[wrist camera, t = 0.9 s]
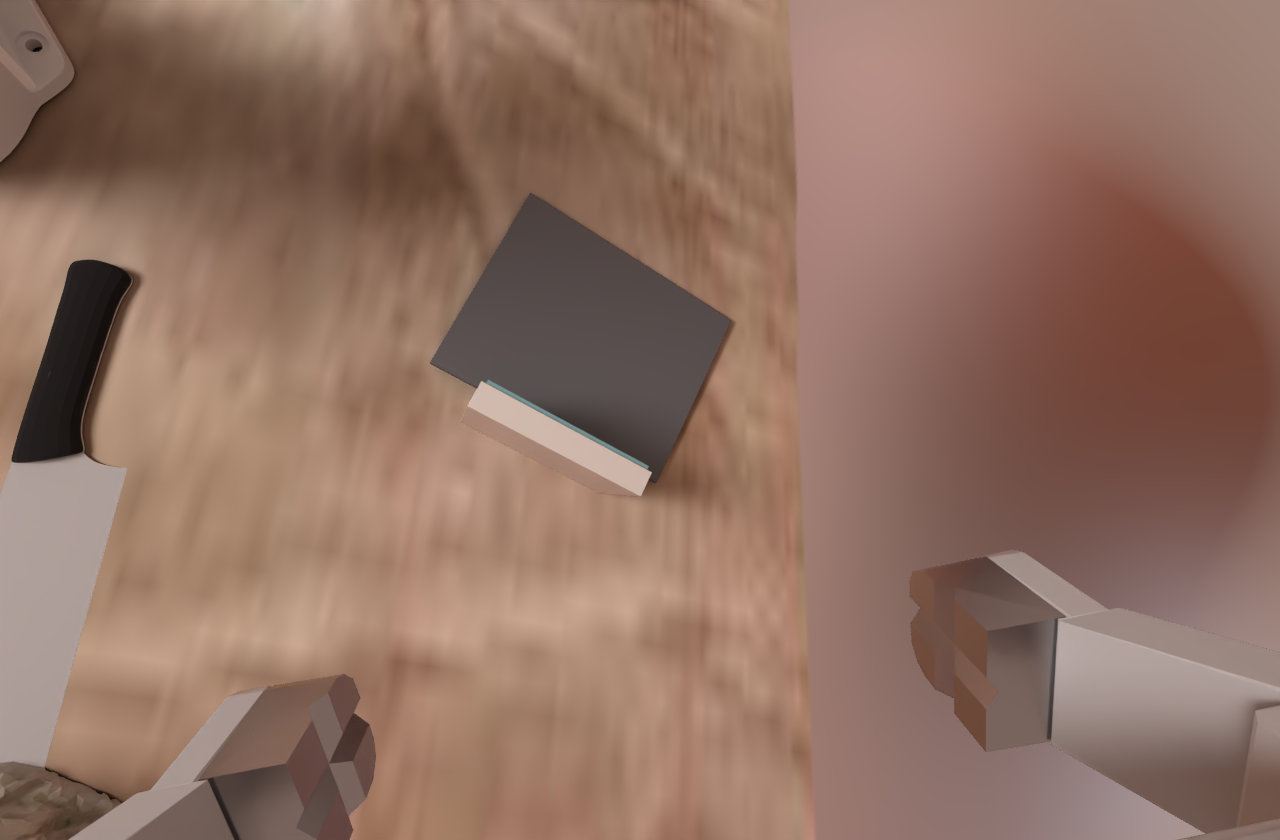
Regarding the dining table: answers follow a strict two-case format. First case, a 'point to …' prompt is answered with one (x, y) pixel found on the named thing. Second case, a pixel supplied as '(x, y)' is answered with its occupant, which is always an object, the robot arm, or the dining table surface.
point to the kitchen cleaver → (54, 517)
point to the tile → (553, 442)
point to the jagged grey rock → (46, 804)
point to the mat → (585, 335)
